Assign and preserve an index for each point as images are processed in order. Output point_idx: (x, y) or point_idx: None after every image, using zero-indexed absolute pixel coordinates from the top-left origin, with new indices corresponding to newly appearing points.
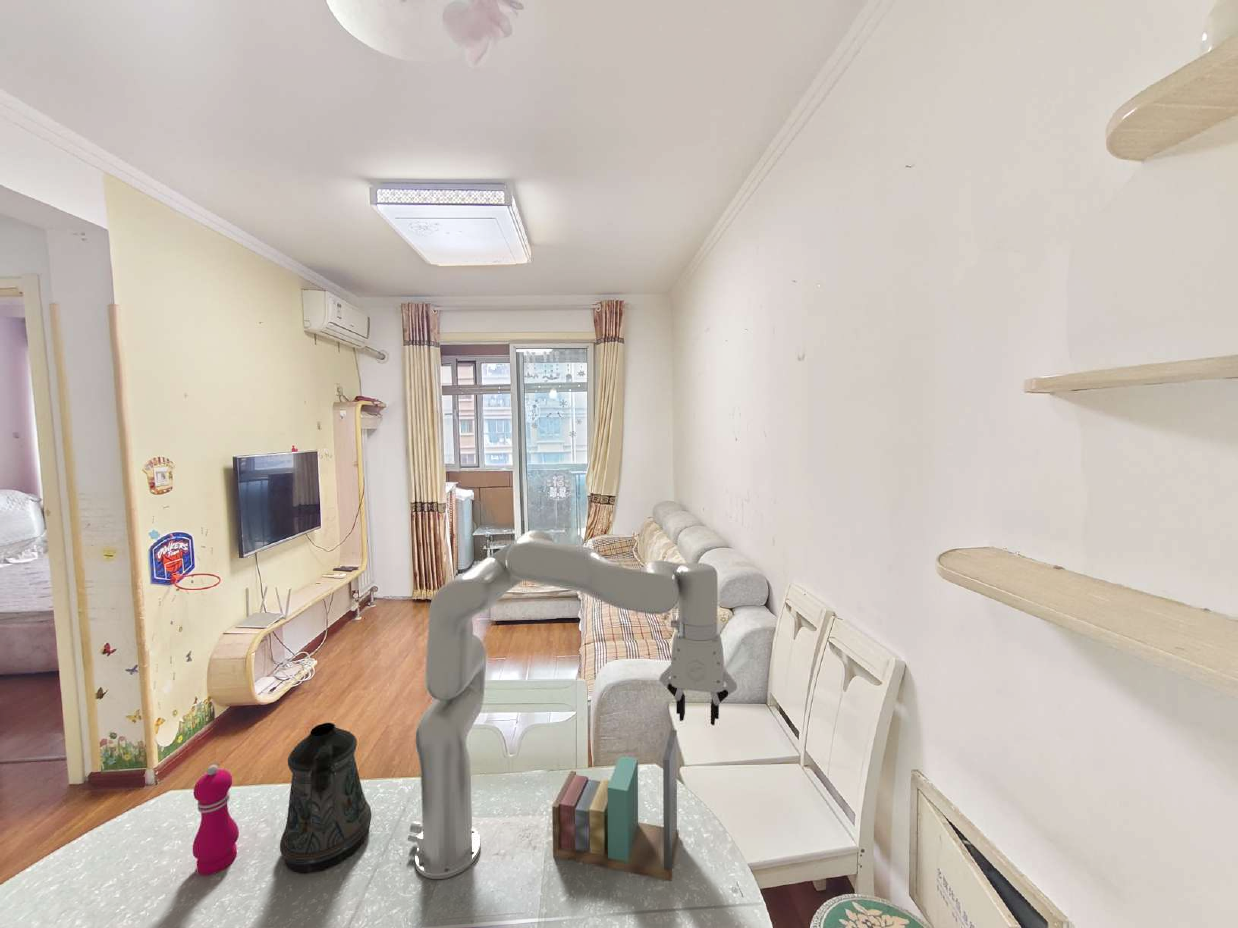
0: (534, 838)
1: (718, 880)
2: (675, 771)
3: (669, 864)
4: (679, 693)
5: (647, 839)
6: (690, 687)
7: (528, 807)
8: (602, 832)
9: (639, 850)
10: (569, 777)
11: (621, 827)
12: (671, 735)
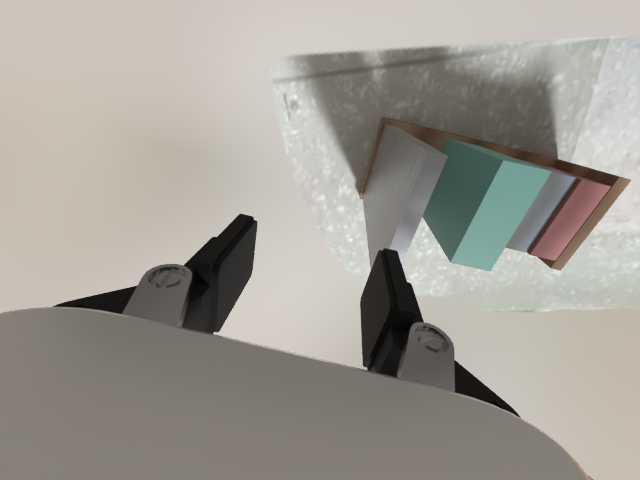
0: None
1: (314, 120)
2: (373, 223)
3: (385, 123)
4: (425, 362)
5: None
6: (351, 392)
7: (579, 248)
8: None
9: None
10: (568, 254)
11: (478, 148)
12: None
